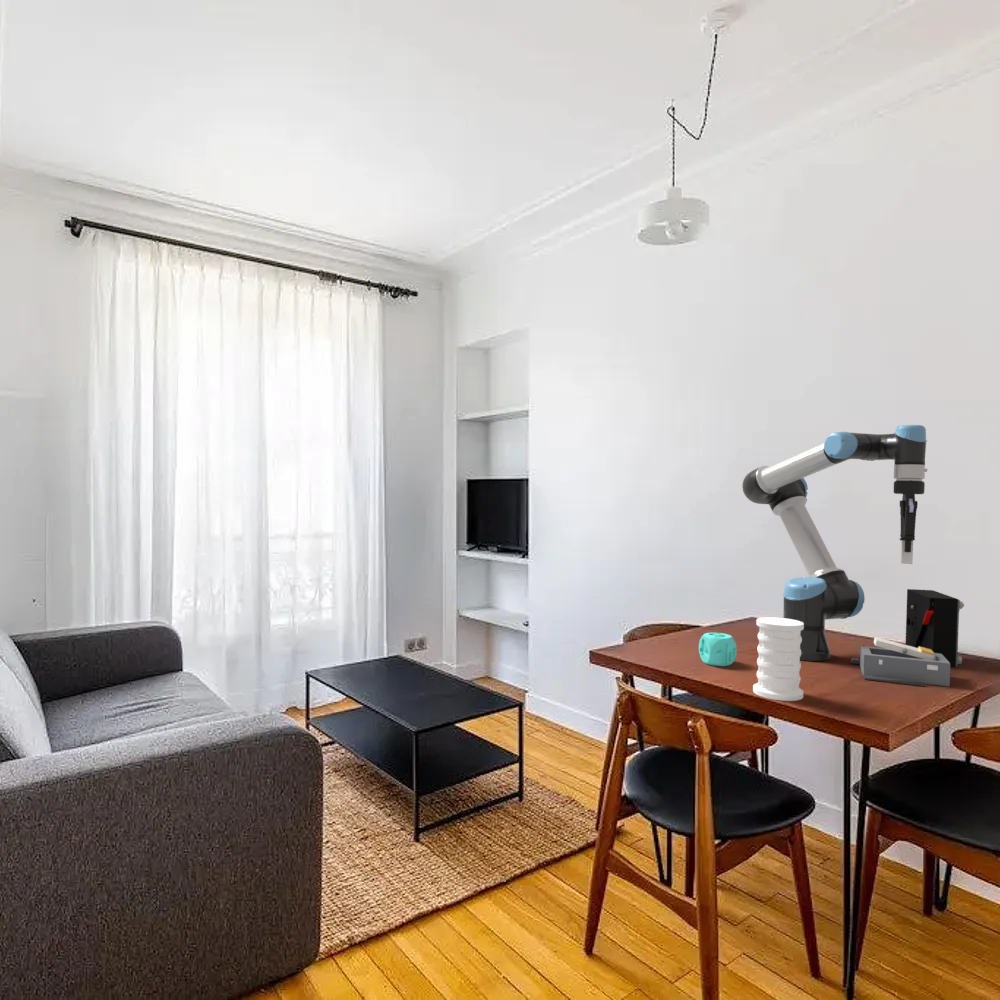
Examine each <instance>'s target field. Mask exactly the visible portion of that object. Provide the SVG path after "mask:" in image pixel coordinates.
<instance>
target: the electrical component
mask: <svg viewBox="0 0 1000 1000" xmlns="http://www.w3.org/2000/svg"><path fill="white" fill-rule="evenodd" d="M906 590H907V591H906V617H905V618H906V620H905V643H904V645H908V646H912V647H915V648H918V647H919V646H920V647H924V648H927V649H931V650H932V651H933V652H934V653H940V654H942V655H943V656H944V657H945V658H946V659H947V660H948V661H949V663H950V668H952V667H956V668H958V667H959V666H958V665H959V664H962V662H963V658H962V656H960V655H959V653H958V651H959V627H960V625H959V621H960V610H961V609H963V608H964V607H965V605H964V604H965V603H964V602H963V601H961V599H959V598H956V597H953V596H950V595H948V594H945V593H942V592H938V591H937V590H931V589H916V588H915V589H913V588H912V589H911V588H910V589H909V588H908V589H906Z"/></svg>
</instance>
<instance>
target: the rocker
mask: <svg viewBox="0 0 1000 1000" xmlns="http://www.w3.org/2000/svg"><path fill="white" fill-rule="evenodd" d="M873 644H874V647H875V646H876V647H878V648H885V649H889V650H893V651H896V652H900V653H904V654H907V655H911V656H915V657H918V658H922V659H926V660H934V657H935V656H934V652H933V651H932V650H931V649H927V648H924V647H920V646H919V647H918V648H915V647H912V646H908V645H905V643H904V644H903V643H901V642H896V641H893V640H889V639H884V638H880V637H877V636H874V639H873Z"/></svg>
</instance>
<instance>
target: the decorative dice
mask: <svg viewBox="0 0 1000 1000" xmlns="http://www.w3.org/2000/svg"><path fill="white" fill-rule="evenodd" d="M737 649H738V648H737V643H736V641H735V639H734V637H733V636H732V635H731V634H727V633H724V632H706V633H705V632H704V634H703V635H701V637H700V639H699V642H698V653H699V657H700V659H701V661H702V663H704V664H707V665H710V666H715V667H727V666H731V665H732V664H733V663H734V662H735V661H736V658H737V651H738V650H737Z"/></svg>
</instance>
